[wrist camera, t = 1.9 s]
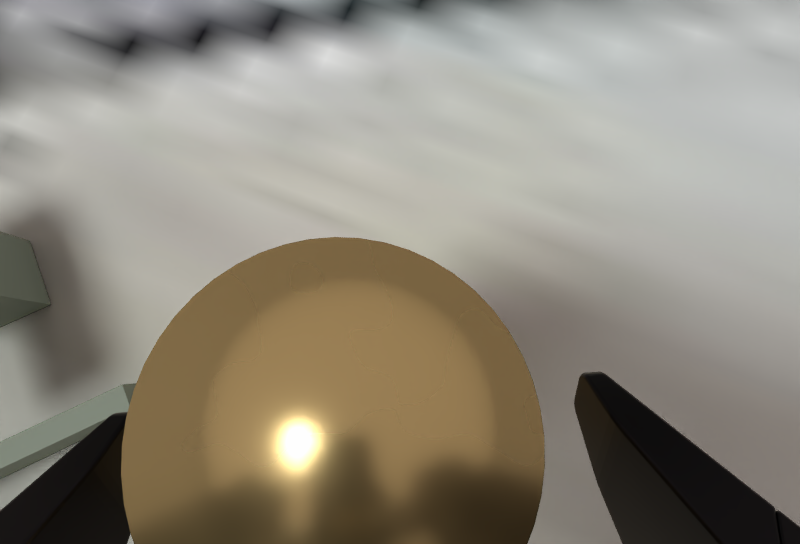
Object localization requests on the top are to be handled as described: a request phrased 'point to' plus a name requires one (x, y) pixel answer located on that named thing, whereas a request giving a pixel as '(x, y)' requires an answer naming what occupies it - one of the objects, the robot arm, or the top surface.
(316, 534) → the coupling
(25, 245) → the shaft bench
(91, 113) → the top surface
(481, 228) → the top surface
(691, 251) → the top surface
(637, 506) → the robot arm
